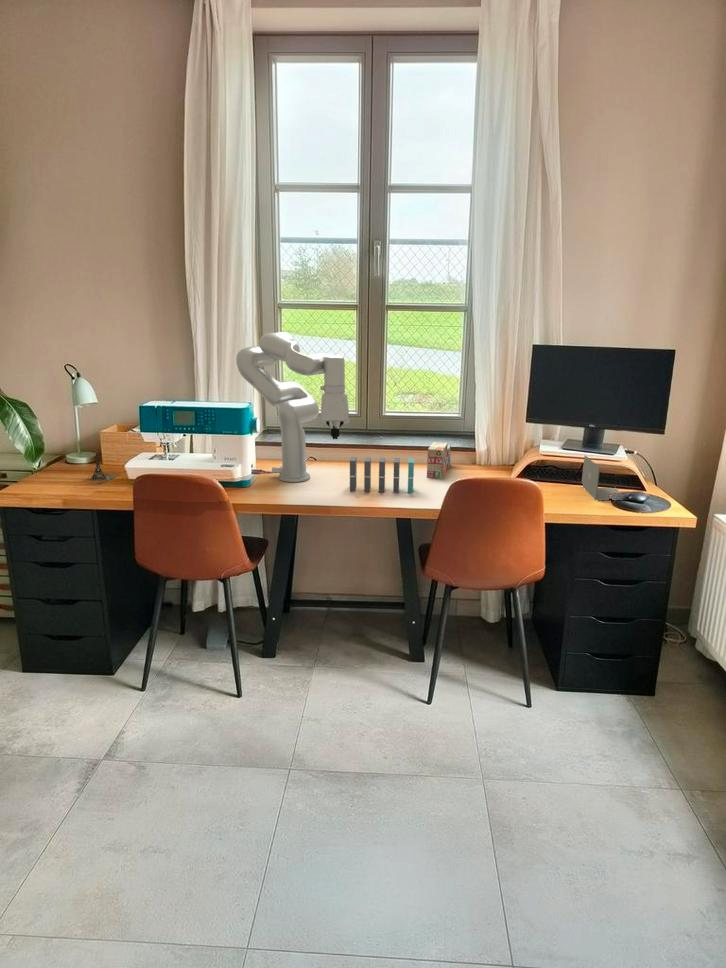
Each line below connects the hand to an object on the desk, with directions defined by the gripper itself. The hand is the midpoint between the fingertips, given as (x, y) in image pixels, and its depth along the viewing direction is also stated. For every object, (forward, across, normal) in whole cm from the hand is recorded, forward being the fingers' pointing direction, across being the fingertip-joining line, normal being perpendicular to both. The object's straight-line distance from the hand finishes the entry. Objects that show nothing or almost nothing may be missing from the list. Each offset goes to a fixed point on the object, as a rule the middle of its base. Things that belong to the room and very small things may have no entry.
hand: (335, 438), depth 249 cm
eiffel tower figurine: (+20, -96, +3) cm, 98 cm away
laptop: (+21, +102, +5) cm, 104 cm away
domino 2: (+20, +12, 0) cm, 23 cm away
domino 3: (+20, +18, 0) cm, 27 cm away
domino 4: (+20, +23, 0) cm, 31 cm away
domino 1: (+20, +7, 0) cm, 21 cm away
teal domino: (+20, +29, 0) cm, 35 cm away
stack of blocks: (+20, +40, +29) cm, 53 cm away
